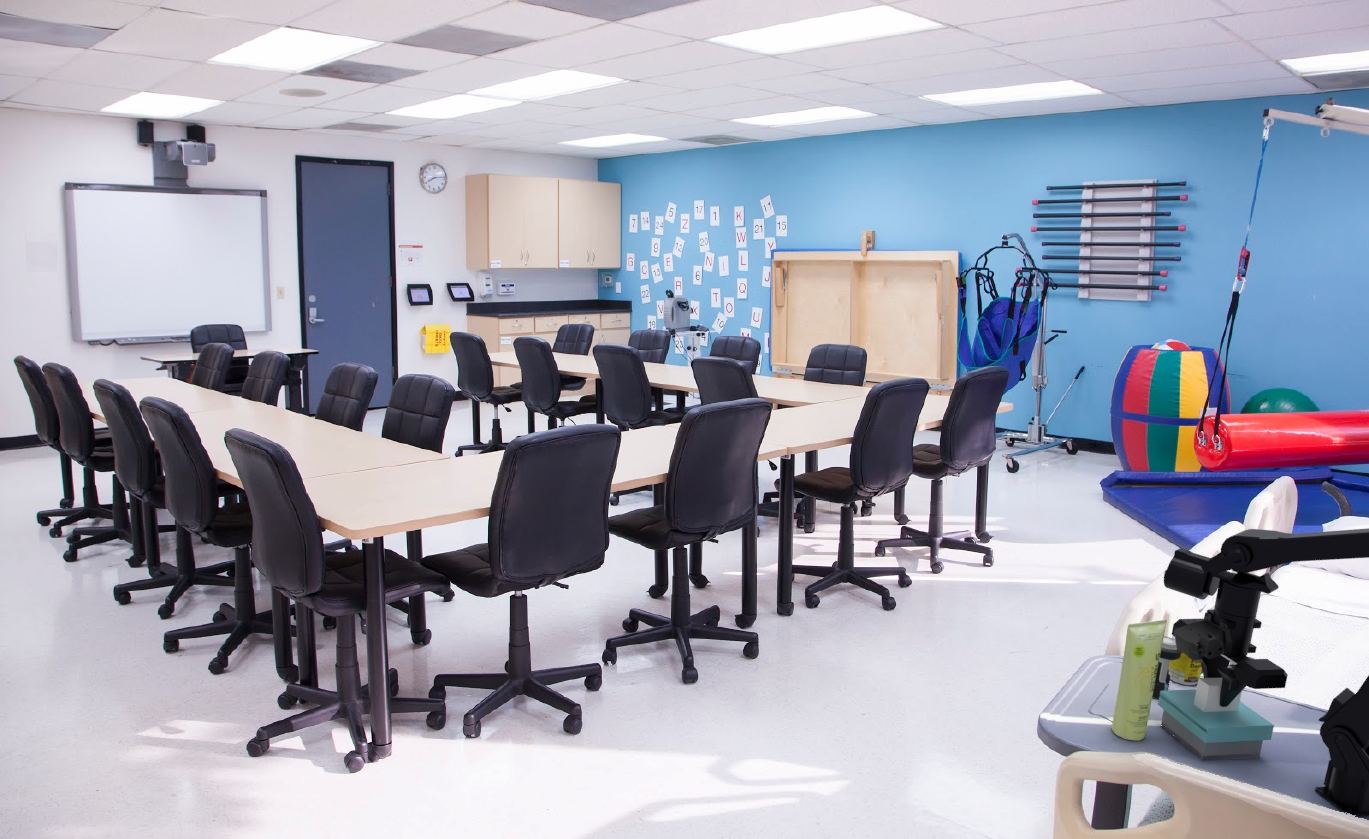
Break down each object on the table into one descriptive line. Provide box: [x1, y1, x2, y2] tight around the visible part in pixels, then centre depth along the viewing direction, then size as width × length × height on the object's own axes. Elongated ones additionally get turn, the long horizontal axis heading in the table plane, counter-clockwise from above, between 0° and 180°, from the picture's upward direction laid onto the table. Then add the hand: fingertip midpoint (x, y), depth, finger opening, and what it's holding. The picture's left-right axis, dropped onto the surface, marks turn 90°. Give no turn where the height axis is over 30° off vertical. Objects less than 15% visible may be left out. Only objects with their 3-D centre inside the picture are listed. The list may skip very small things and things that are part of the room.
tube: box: [1111, 618, 1167, 741], centre depth 155 cm, size 6×5×20 cm
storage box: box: [1160, 709, 1264, 762], centre depth 156 cm, size 10×10×5 cm
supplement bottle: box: [1168, 635, 1202, 686], centre depth 177 cm, size 6×6×10 cm
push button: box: [1152, 635, 1183, 700], centre depth 171 cm, size 7×5×10 cm
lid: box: [1157, 677, 1275, 743], centre depth 155 cm, size 11×11×7 cm
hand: (1216, 701), depth 155 cm, fingers open, 3 cm apart
